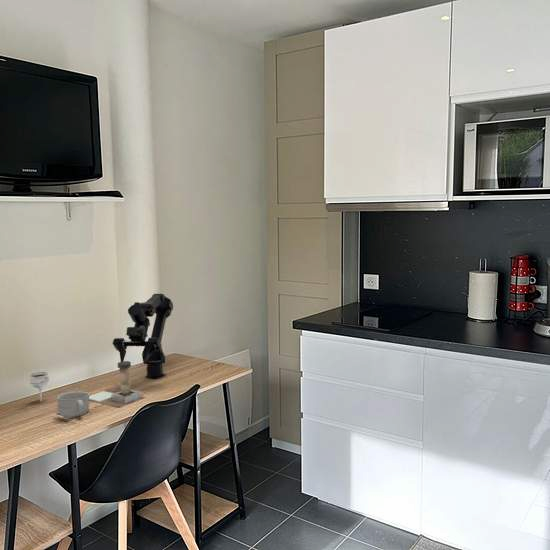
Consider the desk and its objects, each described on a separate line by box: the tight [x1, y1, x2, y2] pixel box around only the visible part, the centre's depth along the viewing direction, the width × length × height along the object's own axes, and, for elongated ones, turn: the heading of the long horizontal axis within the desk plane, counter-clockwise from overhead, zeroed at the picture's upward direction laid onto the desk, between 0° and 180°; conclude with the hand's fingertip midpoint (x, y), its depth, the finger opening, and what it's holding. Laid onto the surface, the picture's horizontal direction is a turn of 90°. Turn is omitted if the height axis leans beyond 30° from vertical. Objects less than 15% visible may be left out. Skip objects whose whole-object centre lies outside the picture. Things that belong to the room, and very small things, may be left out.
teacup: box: [56, 391, 90, 420], centre depth 196 cm, size 14×11×8 cm
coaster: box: [89, 390, 114, 404], centre depth 214 cm, size 9×9×1 cm
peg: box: [117, 360, 132, 396], centre depth 210 cm, size 5×5×14 cm
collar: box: [111, 389, 142, 404], centre depth 211 cm, size 8×8×2 cm
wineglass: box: [29, 371, 50, 403], centre depth 211 cm, size 7×7×12 cm
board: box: [89, 388, 146, 409], centre depth 213 cm, size 13×22×1 cm, turn 56°
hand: (132, 362), depth 218 cm, fingers open, 9 cm apart
